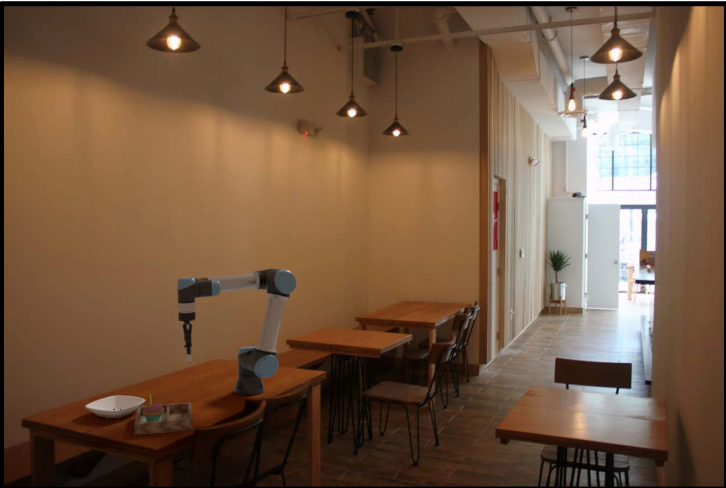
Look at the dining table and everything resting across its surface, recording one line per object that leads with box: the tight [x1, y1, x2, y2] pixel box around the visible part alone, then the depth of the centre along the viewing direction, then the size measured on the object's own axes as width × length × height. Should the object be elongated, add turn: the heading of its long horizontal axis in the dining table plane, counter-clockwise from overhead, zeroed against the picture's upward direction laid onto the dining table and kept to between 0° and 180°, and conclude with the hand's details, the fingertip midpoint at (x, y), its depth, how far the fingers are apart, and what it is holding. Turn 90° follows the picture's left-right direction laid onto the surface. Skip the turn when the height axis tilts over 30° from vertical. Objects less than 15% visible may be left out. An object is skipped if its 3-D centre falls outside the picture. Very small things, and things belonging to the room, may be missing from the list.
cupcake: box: [143, 394, 164, 422], centre depth 248 cm, size 9×8×12 cm
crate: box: [133, 402, 193, 435], centre depth 249 cm, size 22×24×5 cm
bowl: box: [84, 395, 146, 419], centre depth 262 cm, size 22×22×5 cm
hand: (188, 357), depth 266 cm, fingers open, 13 cm apart
